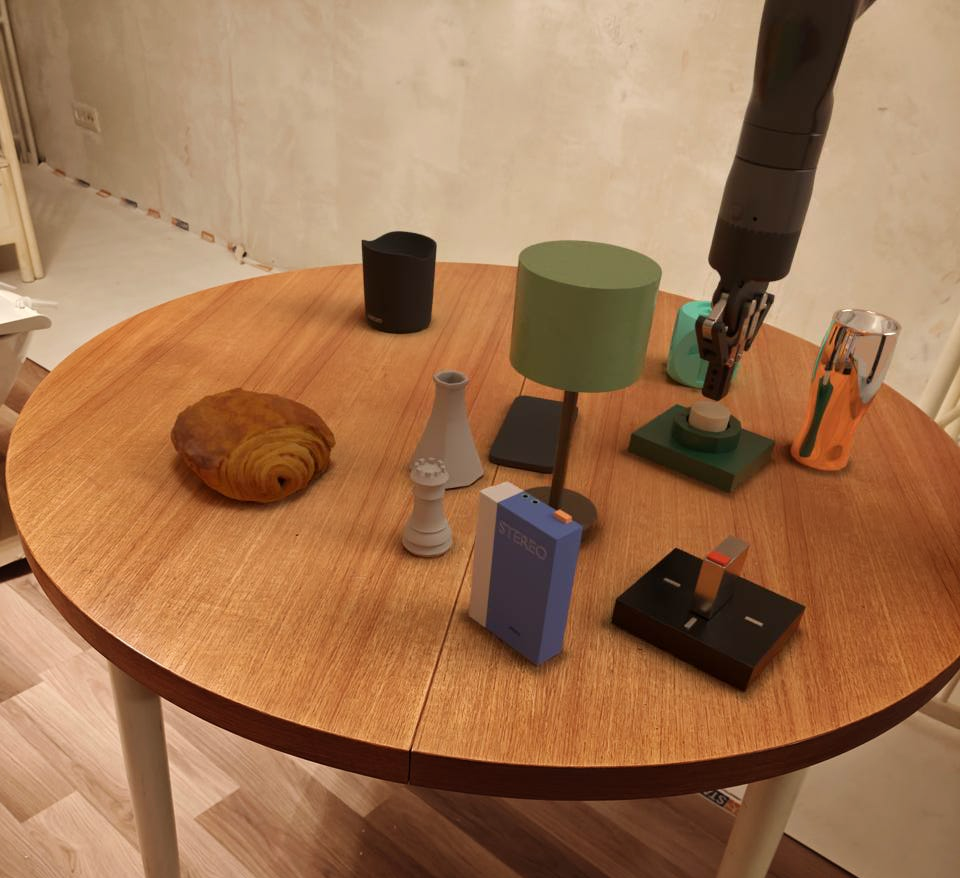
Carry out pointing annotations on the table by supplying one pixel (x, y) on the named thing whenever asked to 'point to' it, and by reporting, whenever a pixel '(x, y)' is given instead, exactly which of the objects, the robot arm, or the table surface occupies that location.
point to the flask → (450, 432)
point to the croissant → (253, 444)
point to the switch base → (702, 449)
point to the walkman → (523, 570)
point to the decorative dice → (689, 347)
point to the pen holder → (399, 281)
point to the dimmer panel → (707, 621)
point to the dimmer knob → (719, 576)
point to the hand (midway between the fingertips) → (713, 396)
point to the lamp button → (709, 416)
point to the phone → (529, 434)
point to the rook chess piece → (428, 511)
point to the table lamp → (580, 336)
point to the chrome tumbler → (844, 385)
